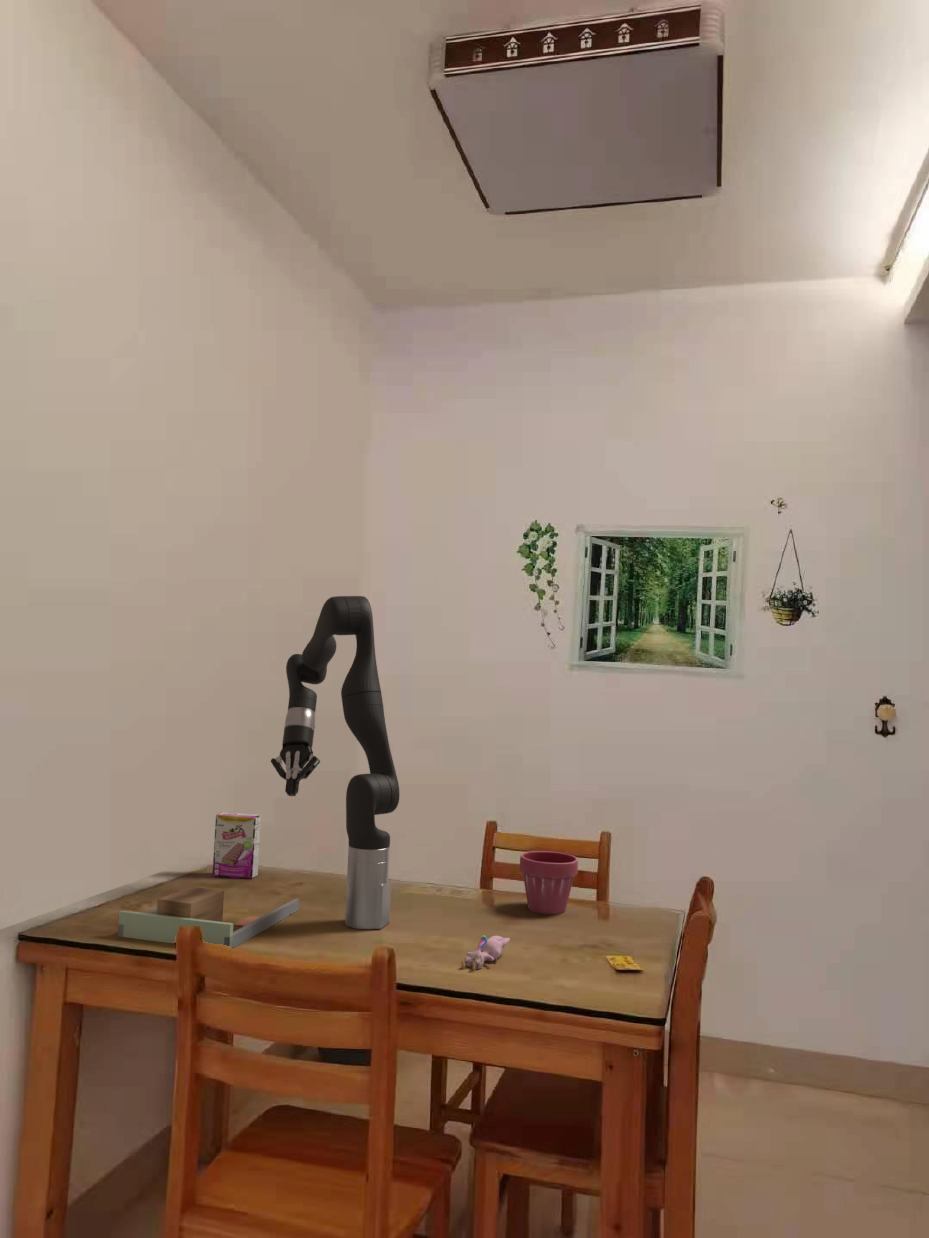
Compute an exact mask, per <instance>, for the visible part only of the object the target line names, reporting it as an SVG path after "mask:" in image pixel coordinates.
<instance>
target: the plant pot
mask: <svg viewBox="0 0 929 1238" xmlns="http://www.w3.org/2000/svg"><path fill="white" fill-rule="evenodd" d="M578 869H579V860H578V857H577V856H575V855H572V854H569V853H565V852H560V851H552V850H551V851H550V850H549V851H548V850H532V851H523V852H522V853H521V854H520V856H519V871H520V872H521V873H522V878H523V884H524V889H525V897H526V902H527V908H528V910H529V911H531V912H534V913H537V914H544V915H559V914H563V913H565V912H566V910H567V906H568V903H569V898H570V894H571V891H572V886H573V881H574V877H576V876H577V875H578V872H579V871H578Z"/></svg>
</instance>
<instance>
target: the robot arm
mask: <svg viewBox="0 0 929 1238" xmlns="http://www.w3.org/2000/svg"><path fill="white" fill-rule="evenodd" d="M335 635H336V636H355V640H356V647H355V648H356V649H355V650H356V652H355V656H354V659H353V661H352V664H351V667H350V668H349V670H348V672H347V674H346V676H345V679H344V681H343V682H342V686H341V689H340V690H341V691H340V692H341V693H340V696H341V703H342V711H343V716H344V720H345V723H346V724H347V727H348V728H349V730H350V731H351V733H352V734H353V736H354V737H355V738H356V740H357V741H358V743H359V744H360V746H361V747H362V749H363V751H364V754H365V756H366V759H367V763H368V768H369V773H360V774H357V775H354V776H353V777H351V779H350V780H349V782H348V783H347V784H348V785H347V787H346V794H345V796H346V797H345V820H346V821H345V824H346V825H345V829H346V834H347V838H348V847H347V867H346V868H347V873H346V892H345V895H346V896H345V913H344V916H345V919H344V923H345V925H346V927H349V928H352V929H357V930H358V929H359V930H374V929H376V930H382V929H383V928H384V927H385V926H387V925H388V924H389V923H390V922H391V920H390V919H391V914H390V913H391V897H392V880H391V879H390V878H389V875H390V874H389V873H390V853H391V851H390V849H391V835H390V833H388V831H385V830H382V829H380V828H378V827H377V826H376V821H375V820H376V819H375V818H376V816H378V815H385V814H390V813H393V812H394V811H395V810H396V809H397V808H398V805H399V804H400V785H399V781H398V776H397V772H396V768H395V765H394V764H395V763H394V759H393V756H392V752H391V747H390V742H389V737H388V731H387V725H386V720H385V719H386V718H385V710H384V702H383V701H384V700H383V695H382V689H381V684H380V678H379V673H378V672H379V671H378V666H377V665H378V664H377V657H376V646H375V630H374V618H373V609H372V606H371V602H370V601H369V599H368V598H367V597H366V596H364V595H340V596H339V595H337V596H330V597H329V598H327V600H325V602H324V603H323V606H322V607H321V611H320V613H319V616H318V618H317V621H316V625H315V628H314V632H313V635H312V637H311V638H310V640H309V641H308V643H307V644H306V646H305V648H304V649H303V651H302V653H293V654H292V655H290V657H288V659H287V662H286V666H285V667H286V668H285V669H286V670H285V672H286V678H287V683H288V684H287V685H288V692H289V694H288V695H289V696H288V697H289V698H288V707H287V713H286V716H285V721H284V727H283V737H282V744H281V745H282V747H281V750H280V752H279V755H278V756H277V757H276V758H274V757H273V758H271V759H270V763H271V764H272V766H273V768H274V769H275V771H276V772H277V773H278V775H279V777H281V778H282V779H283V780H285V781H286V782H285V790H284V791H285V793H286V795H287V796H288V797H296V796H297V794H298V793H299V787H300V782H301V780H306V779H308V777H309V776H310V775H311V774H312V772H314V770H315V769H316V768H317V767H318V765H319V764H321V760H320V759H319V758H318V757H317V756H315V755H314V751H313V743H314V735H315V728H316V712H317V711H316V709H317V699H318V695H317V693H316V692H315V691H314V690H313V689H311V688H308V687H307V686H305V685H304V684H305V683H306V684H310V685H320V684H321V683H323V682H324V681H325V679H326V676H327V671H328V664H329V663H330V662H331V660H332V659H333V657H334V656H335V654H336V651H337V641H336V638H335ZM303 683H304V684H303ZM283 763H284V765H285V769H284V767H283Z"/></svg>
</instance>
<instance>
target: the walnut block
mask: <svg viewBox="0 0 929 1238" xmlns="http://www.w3.org/2000/svg"><path fill="white" fill-rule="evenodd" d="M224 898H225V891H224V890H219V889H213V888H203V887H196V886H190V887H188V888H186V889H182V890H180V891H176V892H173V893H171V894H169V895H165V896H162V897H160V898H158V899H157V906H156V908H157V914H158V915H167V916H175V917H184V918H192V919H201V920H210V921H218V922H223V917H224V916H223V915H224Z"/></svg>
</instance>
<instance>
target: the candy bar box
mask: <svg viewBox="0 0 929 1238" xmlns="http://www.w3.org/2000/svg"><path fill="white" fill-rule="evenodd" d="M261 824H262V815H261V814H255V813H243V812H242V813H240V812H226V811H222V812H218V813H217V814H215V825H214V826H215V827H214V829H215V830H214V843H213V844H214V845H213V860H212V861H213V862H212V877H218V878H230V877H231V879H244V878H253V877H254V878H256V877H257V876H258V875H259V859H260V841H261ZM254 878H253V879H254Z"/></svg>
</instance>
